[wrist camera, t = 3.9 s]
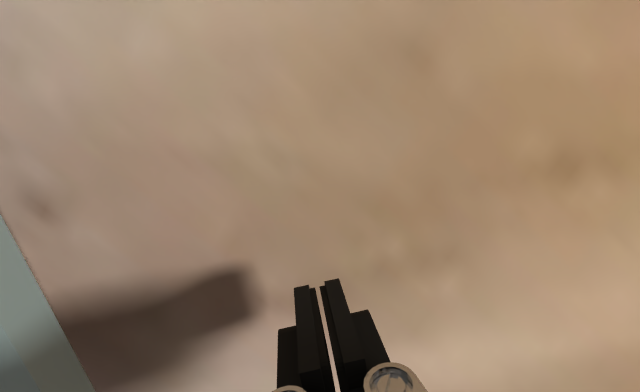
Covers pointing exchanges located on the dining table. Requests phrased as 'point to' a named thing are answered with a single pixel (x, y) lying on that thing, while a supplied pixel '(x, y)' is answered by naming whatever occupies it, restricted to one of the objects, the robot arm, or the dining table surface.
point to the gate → (31, 332)
